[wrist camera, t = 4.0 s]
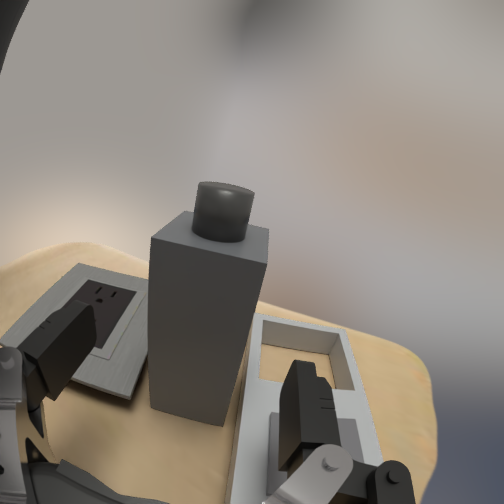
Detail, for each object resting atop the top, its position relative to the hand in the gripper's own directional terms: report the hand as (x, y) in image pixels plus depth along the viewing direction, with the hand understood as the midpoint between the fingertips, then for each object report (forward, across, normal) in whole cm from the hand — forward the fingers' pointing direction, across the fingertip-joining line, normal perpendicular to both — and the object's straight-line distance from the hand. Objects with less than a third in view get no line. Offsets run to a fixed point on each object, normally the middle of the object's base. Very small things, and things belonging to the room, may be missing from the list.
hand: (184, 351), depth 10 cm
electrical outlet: (+7, +9, +8) cm, 14 cm away
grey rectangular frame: (+3, -7, +8) cm, 11 cm away
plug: (+4, 0, +8) cm, 9 cm away
